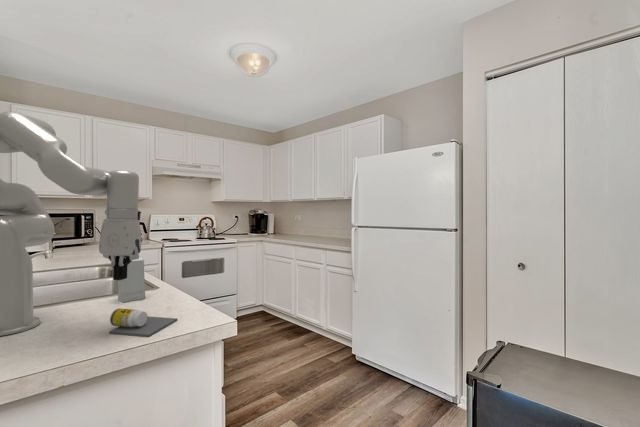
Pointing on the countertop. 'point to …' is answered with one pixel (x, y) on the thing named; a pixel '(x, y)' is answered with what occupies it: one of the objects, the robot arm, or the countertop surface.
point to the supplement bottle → (128, 318)
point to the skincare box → (132, 282)
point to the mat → (145, 327)
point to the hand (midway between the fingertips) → (120, 279)
